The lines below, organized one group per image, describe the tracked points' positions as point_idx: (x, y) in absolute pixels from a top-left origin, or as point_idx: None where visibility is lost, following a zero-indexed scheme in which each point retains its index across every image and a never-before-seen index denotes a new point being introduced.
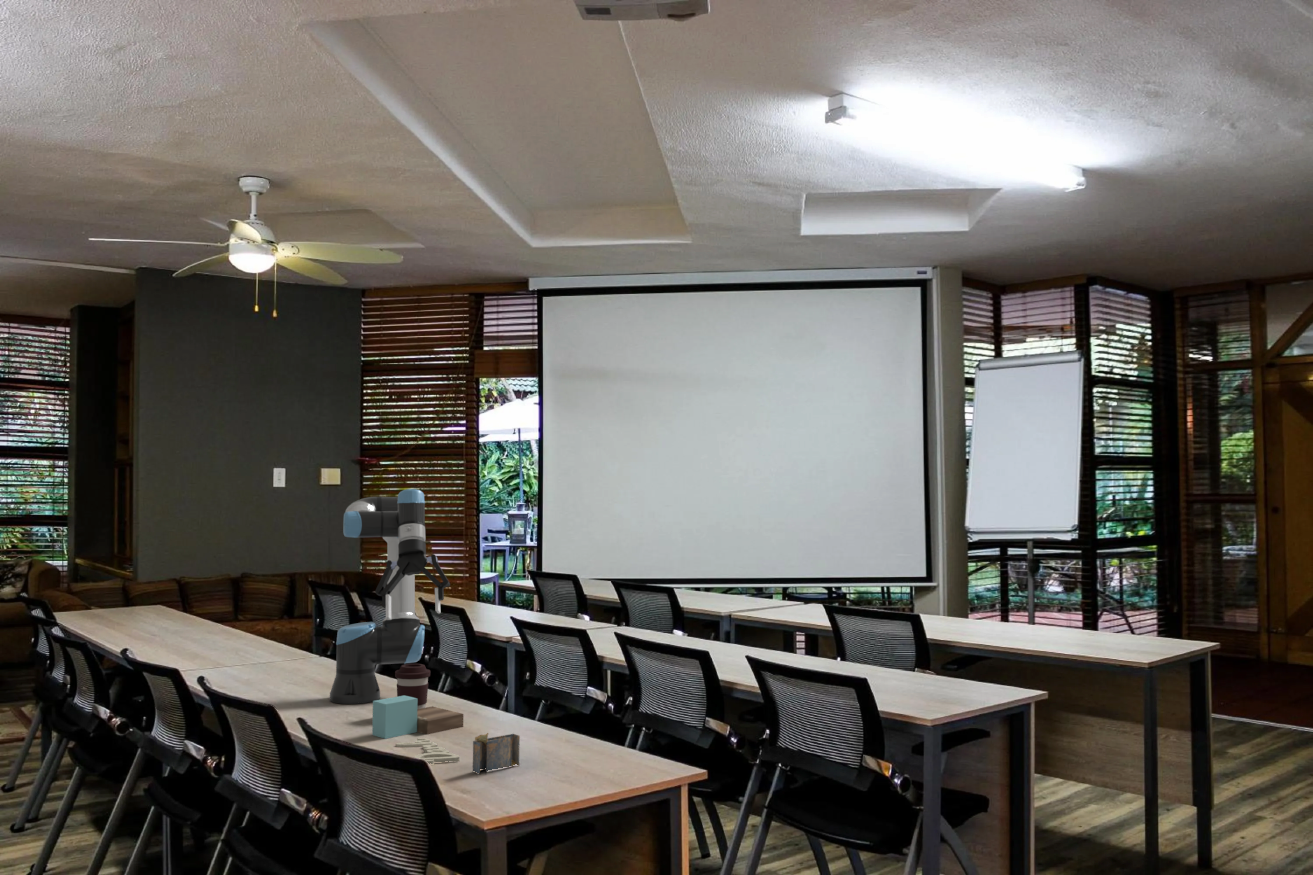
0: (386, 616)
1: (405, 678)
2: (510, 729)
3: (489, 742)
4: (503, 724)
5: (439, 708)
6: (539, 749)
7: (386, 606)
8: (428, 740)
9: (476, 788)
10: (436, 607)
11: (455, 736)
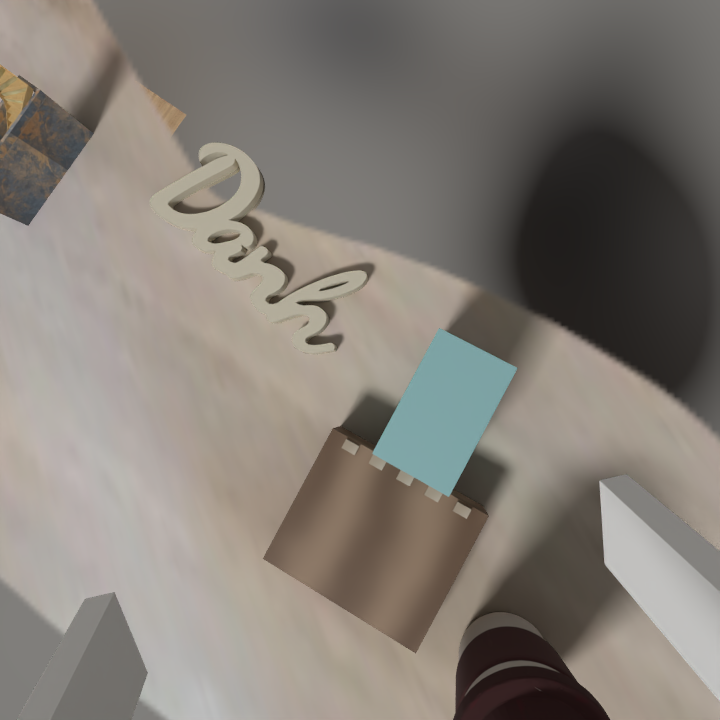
0: (624, 479)
1: (527, 666)
2: (139, 565)
3: (3, 105)
4: (179, 624)
5: (376, 623)
6: (4, 367)
7: (706, 551)
8: (293, 334)
9: (44, 24)
10: (88, 622)
11: (260, 443)
